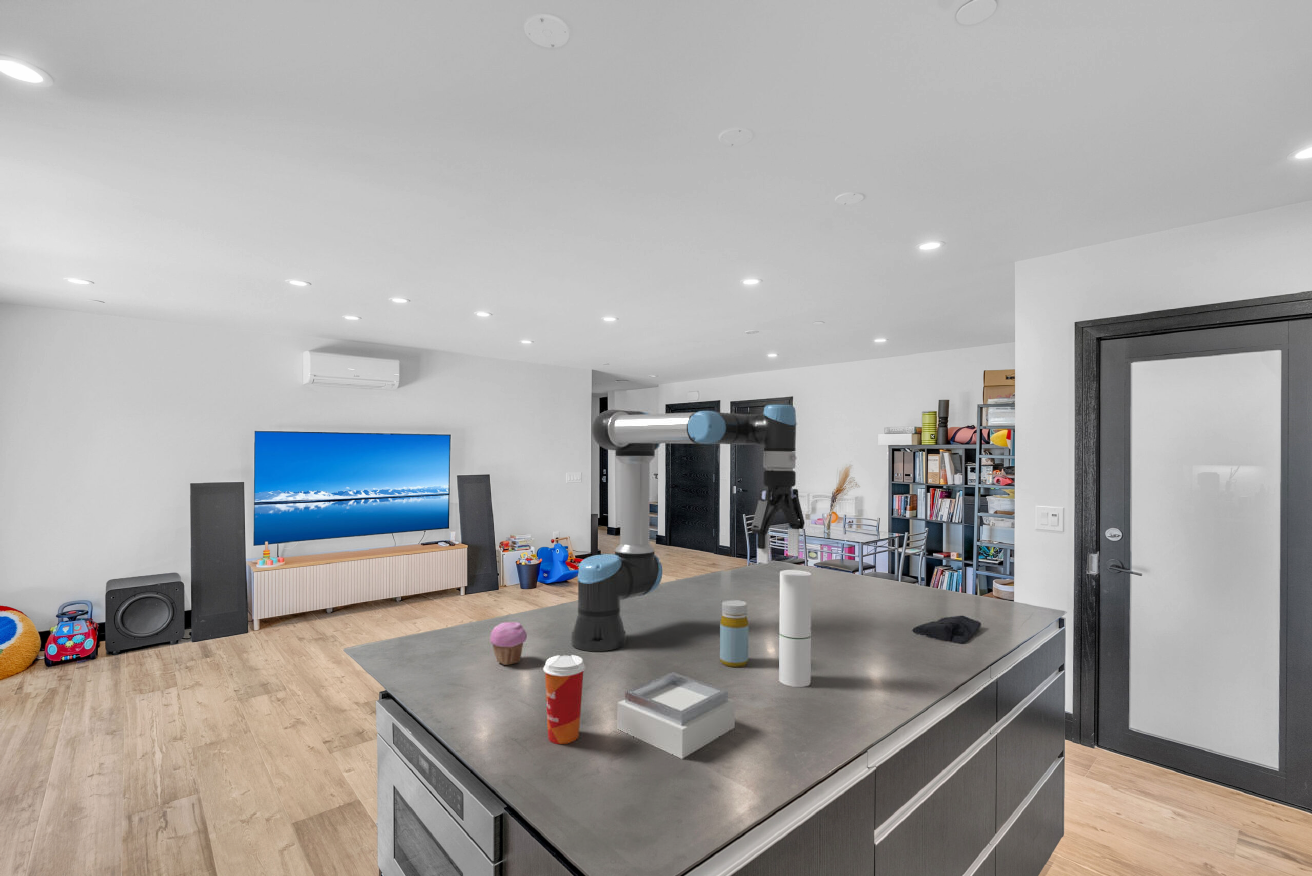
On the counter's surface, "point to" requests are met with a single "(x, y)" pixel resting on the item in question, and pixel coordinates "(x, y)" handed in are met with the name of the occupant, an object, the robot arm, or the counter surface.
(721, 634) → the bottle
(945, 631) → the crumpled black cloth
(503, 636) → the cupcake
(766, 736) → the counter surface
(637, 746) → the counter surface
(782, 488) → the robot arm
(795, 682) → the cylindrical container
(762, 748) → the counter surface
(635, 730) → the square tray
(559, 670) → the paper cup
